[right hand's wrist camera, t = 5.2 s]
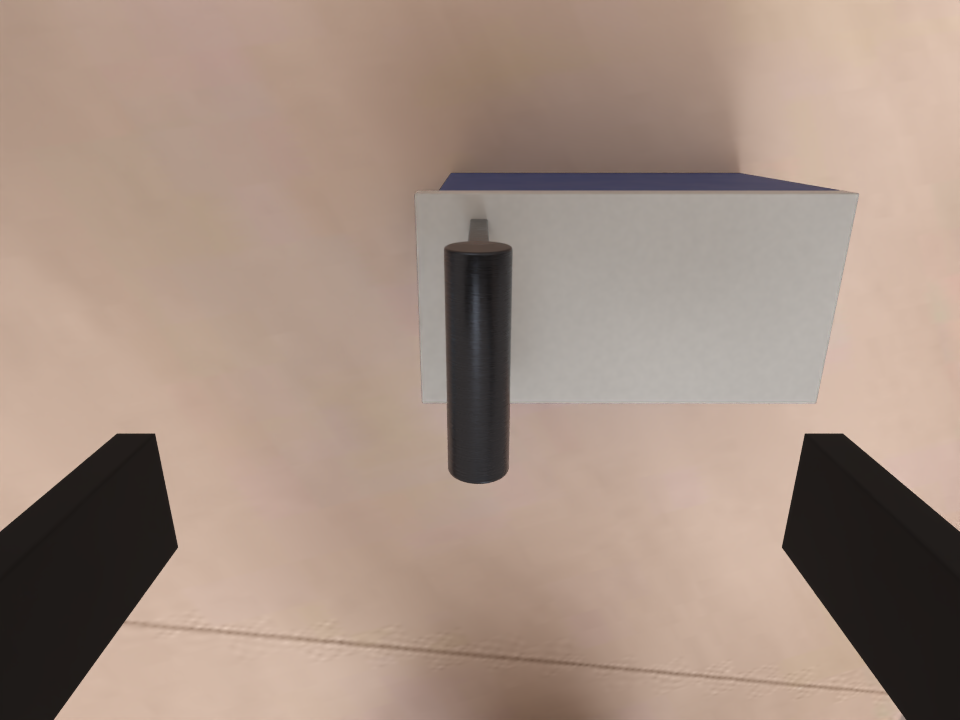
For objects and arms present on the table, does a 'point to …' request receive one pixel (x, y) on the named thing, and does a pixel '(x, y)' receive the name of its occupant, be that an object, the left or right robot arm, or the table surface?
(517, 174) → the blue cabinet box
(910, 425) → the table surface
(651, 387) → the lid
